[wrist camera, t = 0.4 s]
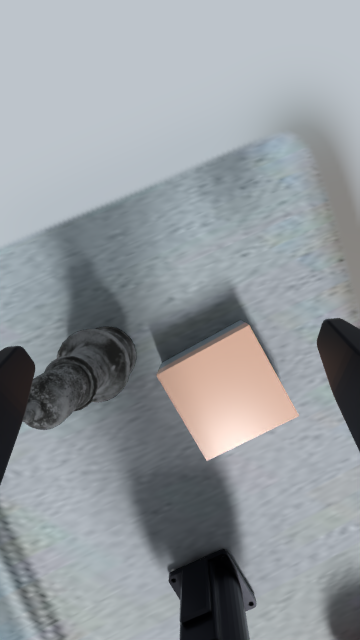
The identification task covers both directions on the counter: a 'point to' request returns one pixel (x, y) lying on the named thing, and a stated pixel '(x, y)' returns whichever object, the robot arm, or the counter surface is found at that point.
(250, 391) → the peach and grey block
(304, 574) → the counter surface
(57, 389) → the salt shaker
